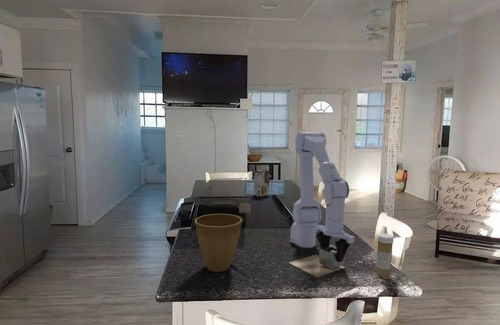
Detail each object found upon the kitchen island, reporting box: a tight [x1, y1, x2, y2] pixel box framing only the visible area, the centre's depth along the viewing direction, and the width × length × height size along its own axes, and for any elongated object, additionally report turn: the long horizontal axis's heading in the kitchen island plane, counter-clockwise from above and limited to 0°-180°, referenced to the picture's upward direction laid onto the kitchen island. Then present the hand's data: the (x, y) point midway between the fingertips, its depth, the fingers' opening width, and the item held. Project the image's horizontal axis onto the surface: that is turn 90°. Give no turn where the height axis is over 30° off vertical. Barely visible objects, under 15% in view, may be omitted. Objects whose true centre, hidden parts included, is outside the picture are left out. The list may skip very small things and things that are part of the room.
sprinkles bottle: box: [375, 233, 394, 280], centre depth 109 cm, size 5×5×13 cm
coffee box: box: [253, 169, 270, 198], centre depth 225 cm, size 9×6×16 cm
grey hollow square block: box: [318, 244, 345, 269], centre depth 114 cm, size 6×6×5 cm
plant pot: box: [194, 213, 243, 273], centre depth 113 cm, size 15×15×16 cm
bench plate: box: [288, 254, 346, 278], centre depth 115 cm, size 13×13×1 cm
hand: (332, 258), depth 114 cm, fingers closed on grey hollow square block, 6 cm apart
